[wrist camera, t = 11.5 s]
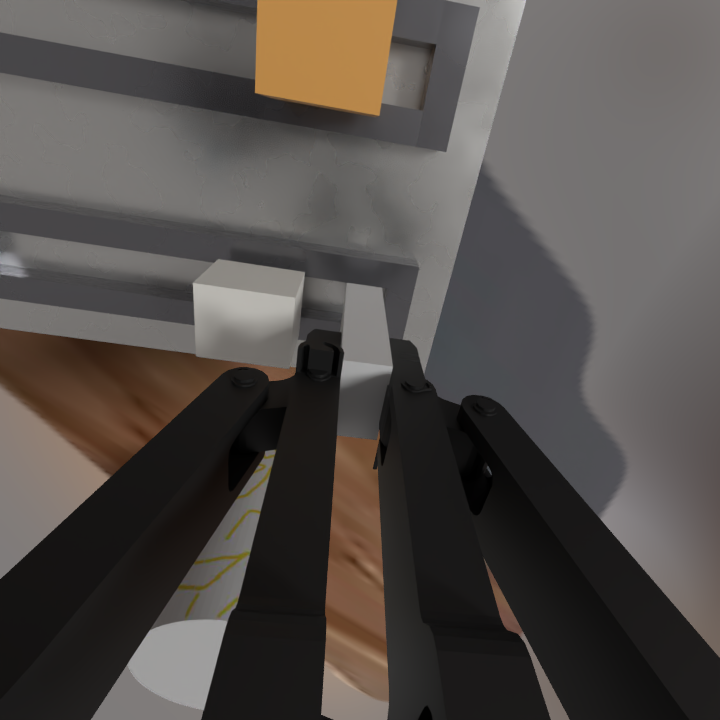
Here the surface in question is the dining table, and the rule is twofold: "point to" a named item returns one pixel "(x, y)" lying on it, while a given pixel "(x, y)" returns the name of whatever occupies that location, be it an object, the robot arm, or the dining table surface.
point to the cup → (202, 605)
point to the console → (230, 166)
